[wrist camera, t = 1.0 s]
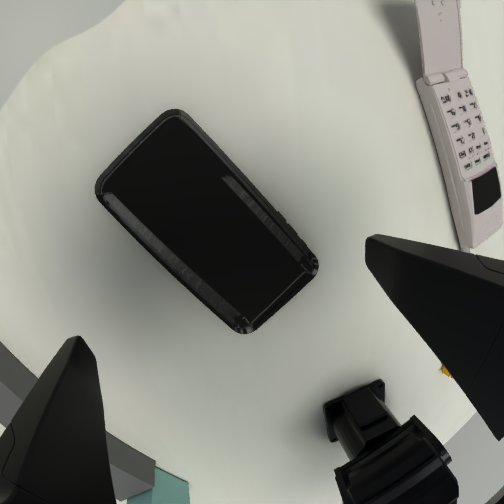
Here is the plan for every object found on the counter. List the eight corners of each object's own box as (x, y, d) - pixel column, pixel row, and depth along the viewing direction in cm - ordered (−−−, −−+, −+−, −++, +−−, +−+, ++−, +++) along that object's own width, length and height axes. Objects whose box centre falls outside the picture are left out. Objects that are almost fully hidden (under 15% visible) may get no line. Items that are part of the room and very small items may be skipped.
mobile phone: (454, -21, 12) (529, 253, 20) (415, 1, 18) (489, 238, 26) (406, -26, 12) (497, 284, 20) (368, 3, 18) (454, 264, 26)
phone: (244, 339, 22) (87, 189, 18) (242, 332, 23) (92, 188, 19) (326, 266, 22) (176, 100, 17) (320, 262, 23) (177, 103, 18)
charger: (188, 483, 27) (191, 525, 21) (163, 494, 27) (164, 534, 21) (133, 454, 24) (128, 501, 19) (110, 468, 25) (103, 510, 19)
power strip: (155, 461, 25) (154, 491, 21) (123, 477, 26) (120, 505, 22) (-7, 334, 19) (-29, 357, 15) (-25, 365, 19) (-43, 387, 15)
